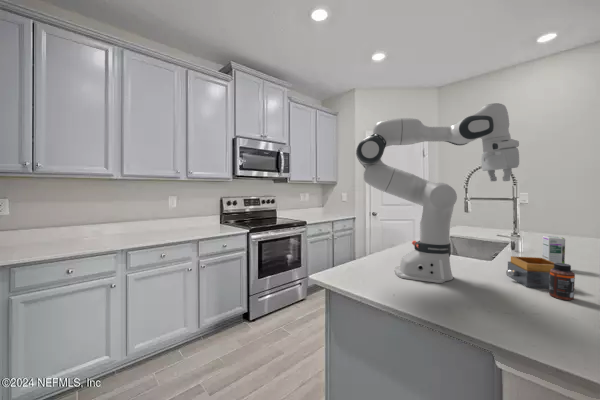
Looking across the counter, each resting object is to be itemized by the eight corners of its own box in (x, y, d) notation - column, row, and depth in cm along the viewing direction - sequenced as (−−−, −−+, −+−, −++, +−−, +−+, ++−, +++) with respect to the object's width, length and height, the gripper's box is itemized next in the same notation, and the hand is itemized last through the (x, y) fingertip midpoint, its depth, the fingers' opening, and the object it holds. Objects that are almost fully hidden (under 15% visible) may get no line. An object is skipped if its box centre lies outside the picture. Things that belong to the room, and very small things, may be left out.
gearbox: (517, 286, 97) (517, 264, 96) (499, 275, 109) (499, 255, 109) (565, 290, 93) (566, 266, 93) (541, 277, 106) (542, 257, 106)
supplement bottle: (579, 301, 84) (580, 267, 83) (557, 300, 85) (559, 266, 85) (564, 294, 90) (565, 262, 89) (544, 293, 91) (545, 261, 90)
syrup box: (548, 269, 116) (549, 237, 116) (541, 265, 122) (542, 235, 121) (564, 271, 114) (565, 238, 113) (556, 267, 120) (558, 236, 119)
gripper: (475, 150, 112) (478, 182, 113) (501, 143, 92) (504, 182, 93) (492, 148, 111) (495, 180, 111) (522, 140, 91) (525, 179, 91)
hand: (499, 181), depth 102 cm, fingers open, 8 cm apart
